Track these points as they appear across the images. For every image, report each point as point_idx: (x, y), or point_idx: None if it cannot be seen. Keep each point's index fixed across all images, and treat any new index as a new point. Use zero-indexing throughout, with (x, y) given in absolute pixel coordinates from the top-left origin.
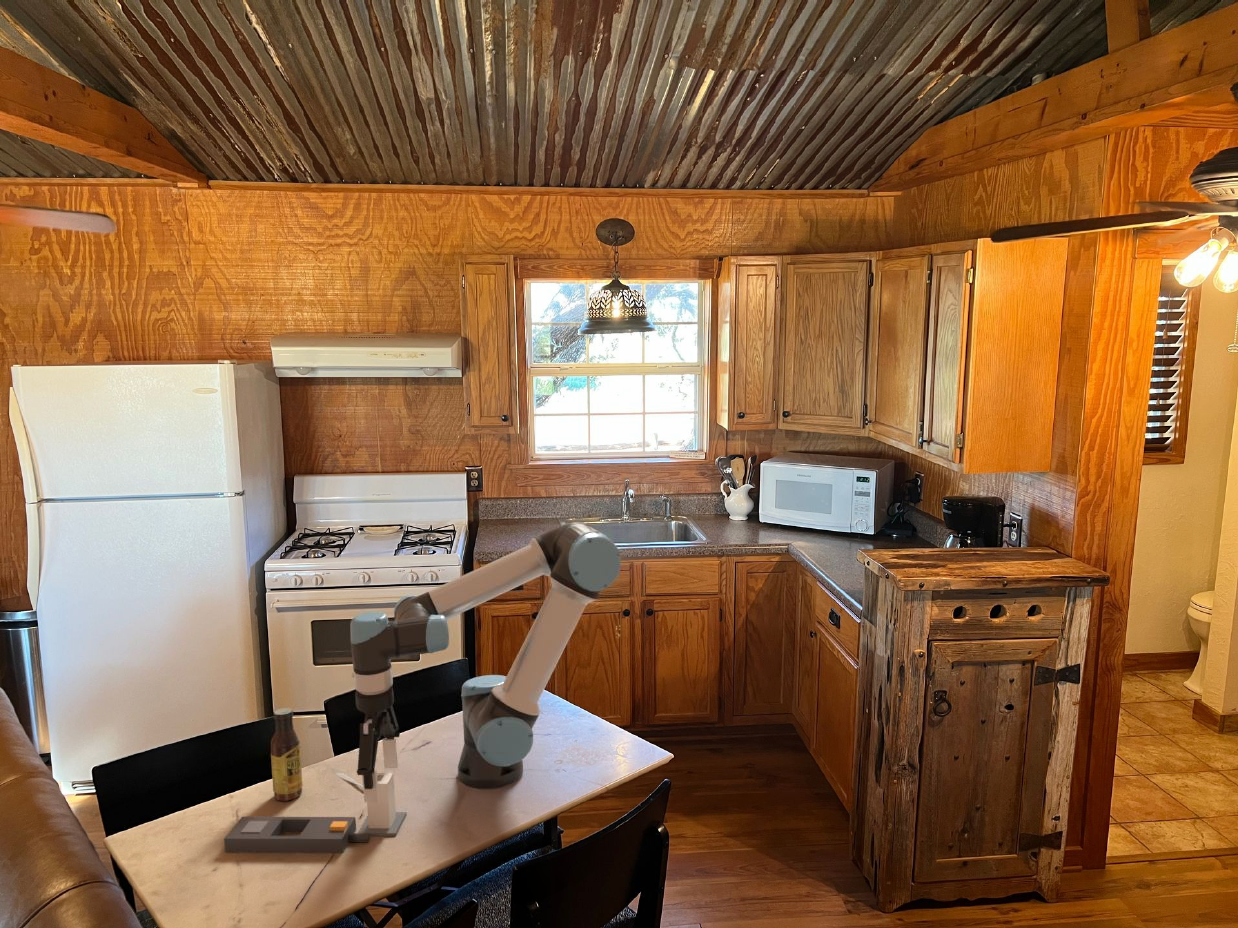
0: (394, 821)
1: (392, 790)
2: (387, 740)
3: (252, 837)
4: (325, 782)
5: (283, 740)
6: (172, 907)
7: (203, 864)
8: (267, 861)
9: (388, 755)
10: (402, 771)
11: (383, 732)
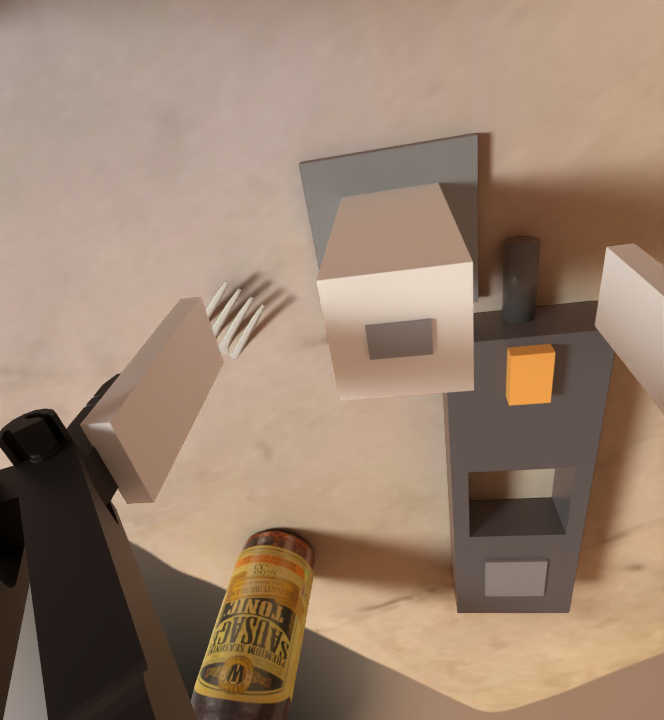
0: (381, 186)
1: (365, 238)
2: (138, 468)
3: (570, 565)
4: (190, 499)
5: None
6: None
7: (608, 591)
8: (616, 484)
9: (186, 386)
10: (24, 317)
11: (135, 562)
